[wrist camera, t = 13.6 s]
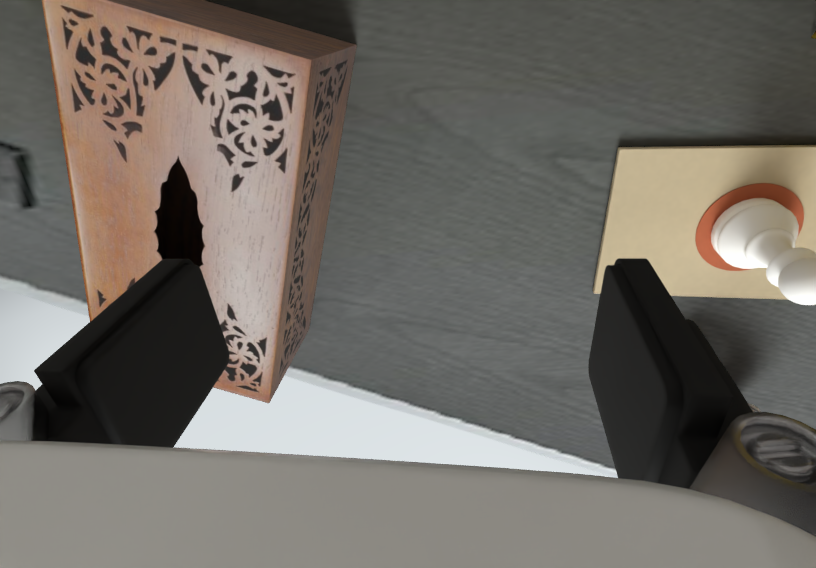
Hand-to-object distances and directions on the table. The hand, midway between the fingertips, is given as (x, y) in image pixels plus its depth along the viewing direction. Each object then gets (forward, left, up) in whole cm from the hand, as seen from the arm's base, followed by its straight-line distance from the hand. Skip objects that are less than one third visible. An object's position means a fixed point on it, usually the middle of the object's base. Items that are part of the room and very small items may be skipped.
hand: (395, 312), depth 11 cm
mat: (+9, +22, -27) cm, 35 cm away
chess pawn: (+9, +21, -26) cm, 35 cm away
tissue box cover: (+6, -17, -27) cm, 33 cm away
